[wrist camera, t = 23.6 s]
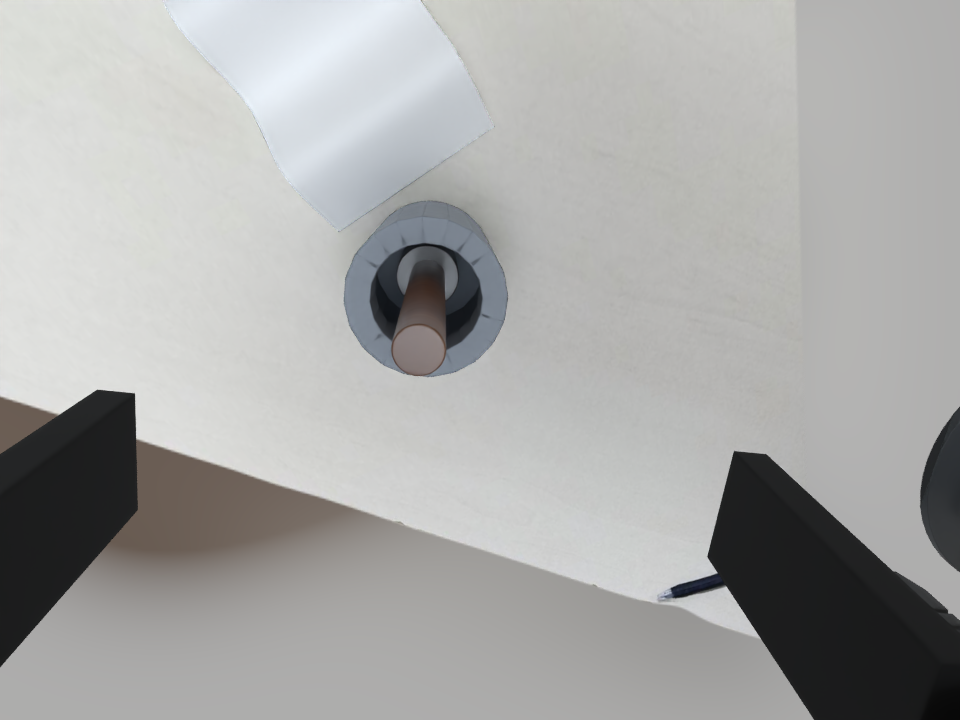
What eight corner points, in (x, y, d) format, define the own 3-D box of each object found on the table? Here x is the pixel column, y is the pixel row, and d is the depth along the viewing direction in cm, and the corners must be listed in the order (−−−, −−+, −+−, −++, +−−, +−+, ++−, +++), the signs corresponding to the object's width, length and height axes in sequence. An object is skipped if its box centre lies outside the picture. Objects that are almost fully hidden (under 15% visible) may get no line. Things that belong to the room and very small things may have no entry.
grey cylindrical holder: (498, 209, 48) (518, 228, 35) (482, 328, 50) (495, 384, 38) (375, 193, 47) (350, 206, 35) (364, 314, 49) (338, 367, 37)
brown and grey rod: (460, 240, 47) (474, 307, 26) (453, 295, 48) (462, 402, 27) (403, 232, 47) (372, 295, 26) (398, 288, 48) (363, 392, 27)
